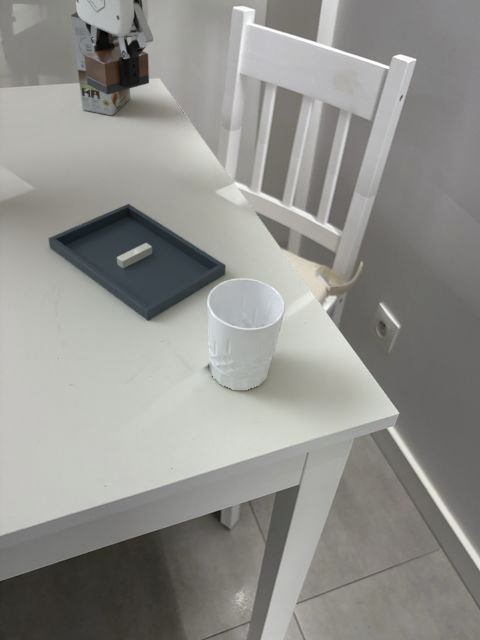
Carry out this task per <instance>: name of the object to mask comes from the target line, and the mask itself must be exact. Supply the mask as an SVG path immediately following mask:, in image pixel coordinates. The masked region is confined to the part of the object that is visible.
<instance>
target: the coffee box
mask: <svg viewBox="0 0 480 640" xmlns="http://www.w3.org/2000/svg"><path fill="white" fill-rule="evenodd" d="M70 16H71V25H72V33H73V42H74V50H75V51H74V52H75V58H76V59H75V60H76V68H77V75H78V83H79V92H80V93H79V94H80V100H81V109H82V111H88V112H92V113H97V114H102V115H107V116H114V115H115V114H116V113H117V112H118V111H119V110H120V109H121V108H122V107H123V106H125V105H126V104H127V103H128V102H129V101H130V100H131V88H130V89H126V90H123V91H119V92H116V93H112V94H109V95H107V94H105V93H103V92H101V91H99V90H97V89H95V88H93V87H91V86H89V85H88V84H87V76H86V67H85V58H84V54H87V53H92V52H95V51H94V46H95V45H93V44H92V43H91V40H90V37H91V34H90V33H89V31H88V29H87V27H86V23H85V22H84V21H83V20H82V19H81V18H80V17H79V16H78V13H77V11H76V12H74V13H72V14H71V15H70ZM111 42H112V43H114V47H119V46H120V44H119V40H118V36H115V35H113V34H111V41H110V42H109V43H111ZM129 99H130V100H129ZM128 100H129V101H128ZM127 101H128V102H127ZM126 102H127V103H126ZM125 103H126V104H125Z"/></svg>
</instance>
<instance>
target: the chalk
mask: <svg viewBox="0 0 480 640" xmlns="http://www.w3.org/2000/svg"><path fill="white" fill-rule="evenodd" d="M151 254H152V246H150V245H149V244H147V243H144V244H142V245H140V246H138V247H136V248H134V249H132V250H130V251H128V252H126V253H124V254H122V255H120V256H118V257H117V265H119V266H120V267H122V268H125V267H127V266H129V265H131V264H133V263H135V262H137V261H139V260H141V259H143V258H145V257H147V256H149V255H151Z"/></svg>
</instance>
